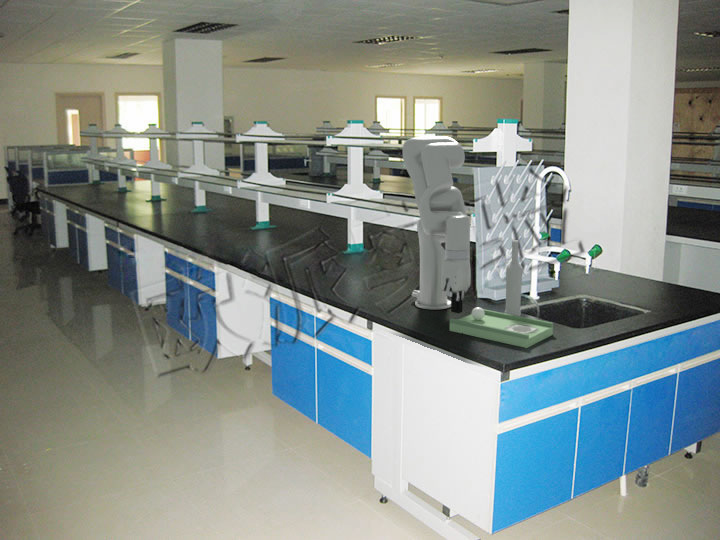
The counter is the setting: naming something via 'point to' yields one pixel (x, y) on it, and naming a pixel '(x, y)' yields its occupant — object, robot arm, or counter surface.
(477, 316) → the ball
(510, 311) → the bottle
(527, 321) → the putting mat
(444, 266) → the robot arm
